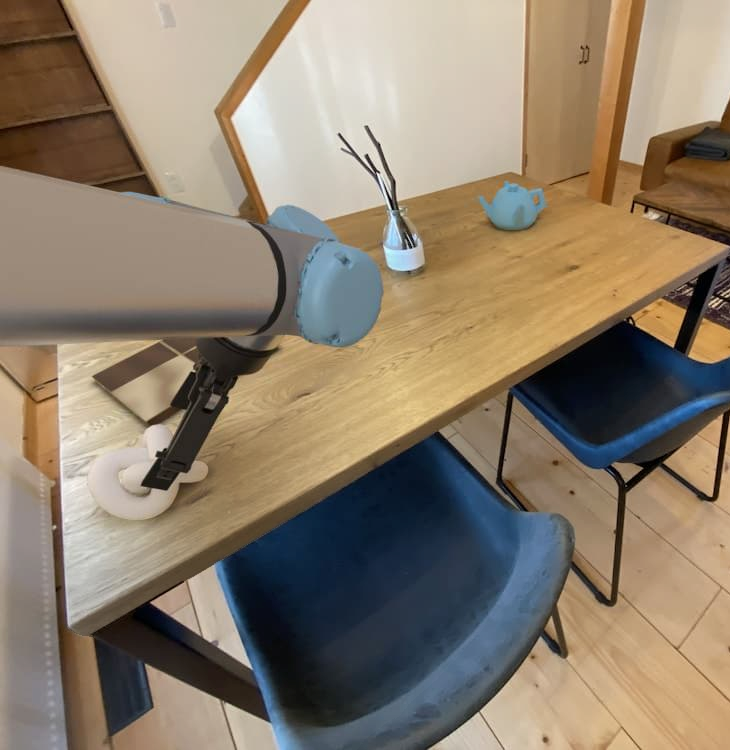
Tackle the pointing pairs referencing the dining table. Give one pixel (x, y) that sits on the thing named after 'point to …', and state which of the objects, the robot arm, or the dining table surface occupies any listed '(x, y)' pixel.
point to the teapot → (514, 207)
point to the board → (151, 378)
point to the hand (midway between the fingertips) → (169, 443)
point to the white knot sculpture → (136, 478)
